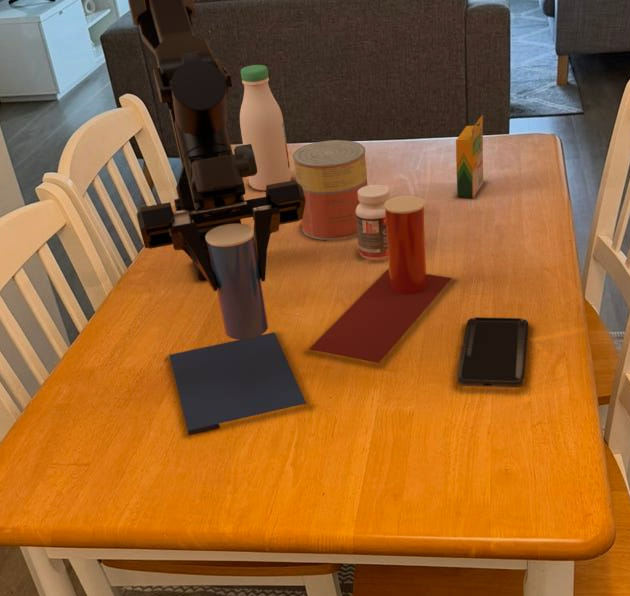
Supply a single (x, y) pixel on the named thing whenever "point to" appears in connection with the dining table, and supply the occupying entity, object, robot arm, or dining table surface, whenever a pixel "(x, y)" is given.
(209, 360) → the blue mat
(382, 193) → the pill bottle
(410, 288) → the red canister
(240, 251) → the blue canister
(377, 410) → the dining table surface
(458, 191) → the crayon box
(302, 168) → the canned food
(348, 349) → the red mat
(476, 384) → the phone
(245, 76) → the milk bottle
